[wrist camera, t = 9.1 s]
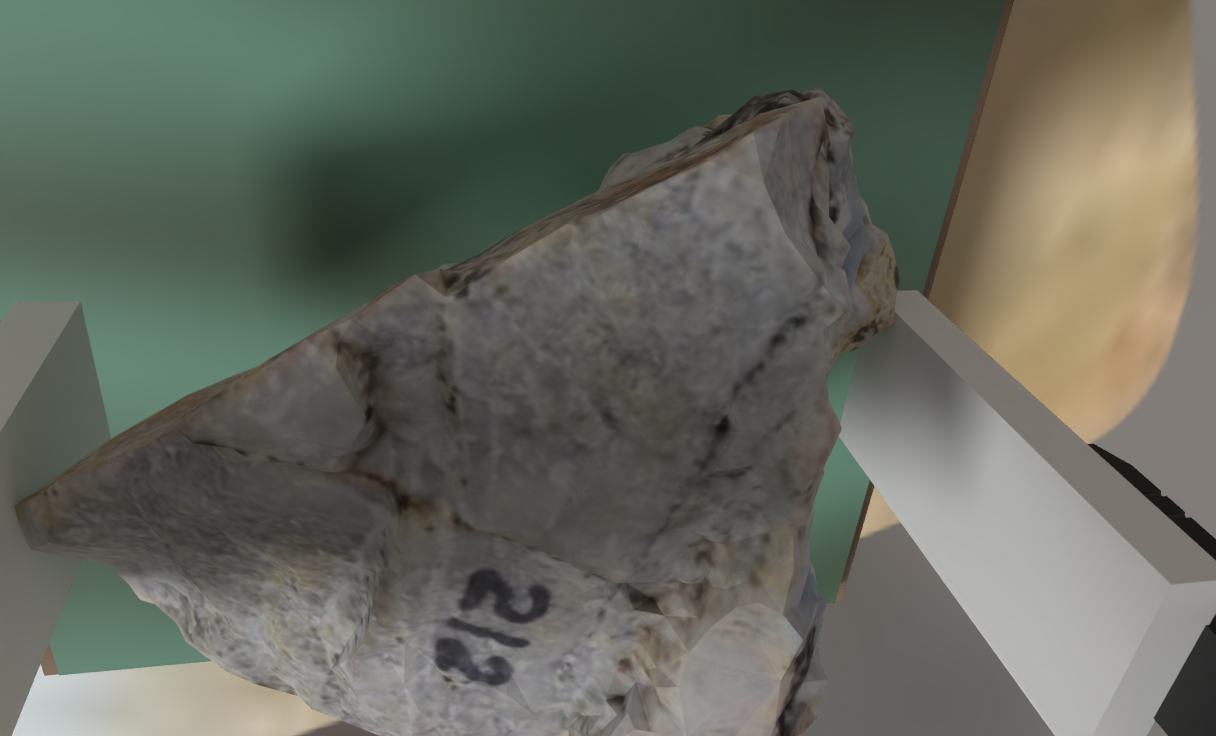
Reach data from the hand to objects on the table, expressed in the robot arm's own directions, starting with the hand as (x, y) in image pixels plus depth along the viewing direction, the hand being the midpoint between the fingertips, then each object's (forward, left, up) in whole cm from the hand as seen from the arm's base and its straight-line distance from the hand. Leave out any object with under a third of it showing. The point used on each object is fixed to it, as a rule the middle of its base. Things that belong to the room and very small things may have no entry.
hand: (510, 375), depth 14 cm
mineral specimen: (-1, 0, -1) cm, 1 cm away
